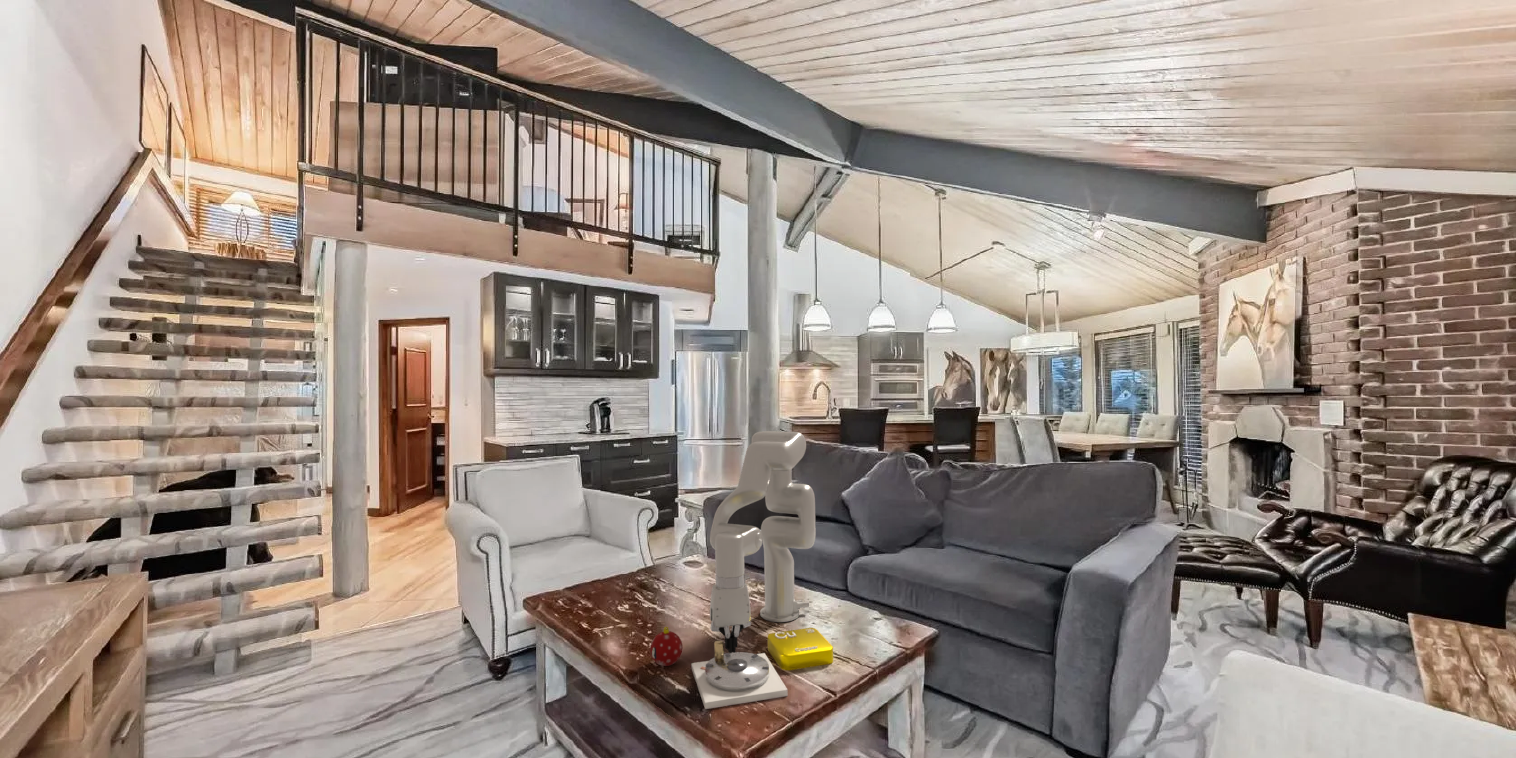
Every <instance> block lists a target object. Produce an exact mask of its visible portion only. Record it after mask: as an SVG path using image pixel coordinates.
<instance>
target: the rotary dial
mask: <svg viewBox="0 0 1516 758" xmlns="http://www.w3.org/2000/svg"><path fill="white" fill-rule="evenodd" d="M713 643H714V657H713V658H710V660H708V661H709V662H708V663H707V664H706V667H705V678H706V681H707V682H708V683H709V684H710V685H711V686H713V687H715V688H718V689H721V690H726V691H745V690H750V689H754V688H756V687H759V686H761V685H762V684H764V683H765V682H766V681H767V679H768V677H769V664H768V662H767V661H766V660H765V659H764V658H762V657H761V656H758V655H757V654H758V653H752V652H751V653H750V652H746V651H745V652H744V651H743V652H742V651H740V652H739V651H737V652H736V653H733V652H732V653H729V652H725V641H723V640H715V641H714V642H713Z"/></svg>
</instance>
